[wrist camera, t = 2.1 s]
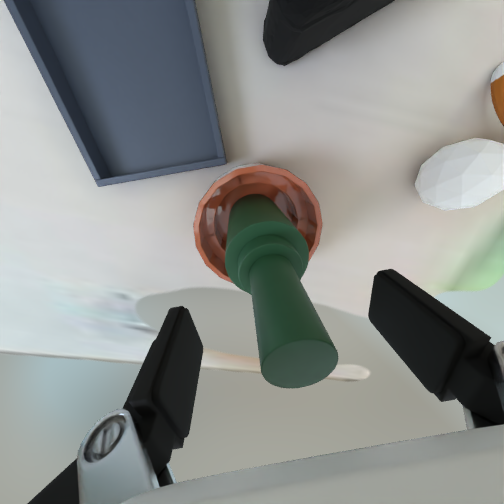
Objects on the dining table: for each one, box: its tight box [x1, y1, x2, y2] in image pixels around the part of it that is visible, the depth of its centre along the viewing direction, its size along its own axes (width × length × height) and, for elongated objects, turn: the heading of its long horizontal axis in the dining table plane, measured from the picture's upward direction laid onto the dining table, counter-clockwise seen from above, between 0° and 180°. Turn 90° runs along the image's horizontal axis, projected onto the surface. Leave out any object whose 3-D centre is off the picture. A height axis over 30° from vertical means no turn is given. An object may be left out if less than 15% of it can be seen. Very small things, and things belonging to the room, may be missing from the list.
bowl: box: [193, 163, 322, 283], centre depth 20 cm, size 12×12×6 cm
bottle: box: [225, 194, 338, 388], centre depth 15 cm, size 6×6×18 cm
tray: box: [4, 0, 227, 187], centre depth 15 cm, size 17×12×2 cm
